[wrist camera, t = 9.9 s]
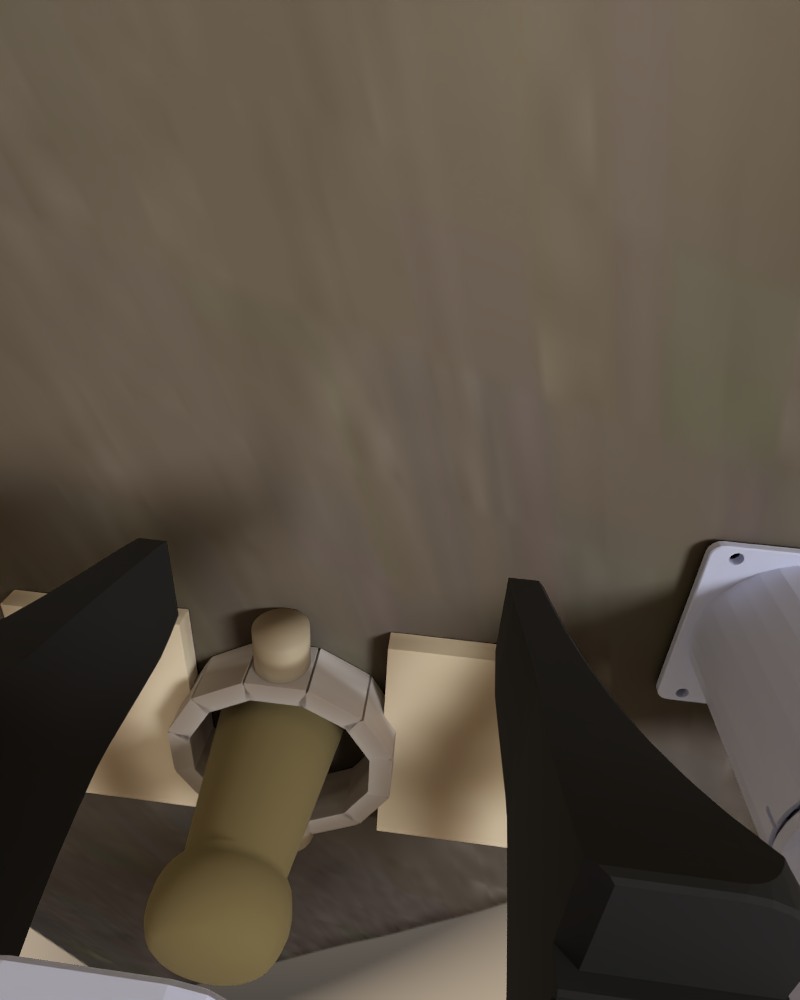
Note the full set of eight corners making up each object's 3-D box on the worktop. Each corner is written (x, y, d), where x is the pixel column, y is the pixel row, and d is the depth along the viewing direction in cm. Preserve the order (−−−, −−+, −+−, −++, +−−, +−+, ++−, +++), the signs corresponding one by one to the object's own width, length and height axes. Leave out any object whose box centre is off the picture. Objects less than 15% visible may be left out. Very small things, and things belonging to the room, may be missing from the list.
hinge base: (580, 641, 27) (589, 686, 25) (526, 839, 34) (529, 887, 32) (10, 577, 28) (-28, 614, 26) (77, 781, 36) (51, 823, 34)
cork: (262, 761, 33) (178, 1015, 24) (200, 681, 31) (78, 931, 21) (367, 739, 32) (321, 1003, 22) (310, 653, 29) (231, 910, 20)
